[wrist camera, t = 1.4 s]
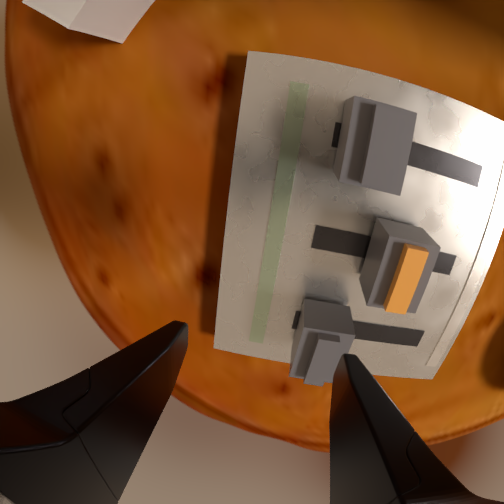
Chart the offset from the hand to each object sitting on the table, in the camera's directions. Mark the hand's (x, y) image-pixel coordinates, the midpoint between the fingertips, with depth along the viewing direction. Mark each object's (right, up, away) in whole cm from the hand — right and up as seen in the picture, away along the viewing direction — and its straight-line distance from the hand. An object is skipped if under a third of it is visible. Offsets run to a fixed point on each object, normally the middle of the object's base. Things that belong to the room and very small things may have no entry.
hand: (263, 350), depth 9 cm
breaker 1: (+4, -2, +11) cm, 12 cm away
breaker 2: (+6, +9, +6) cm, 12 cm away
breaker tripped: (+8, +3, +9) cm, 12 cm away
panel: (+7, +4, +10) cm, 13 cm away
